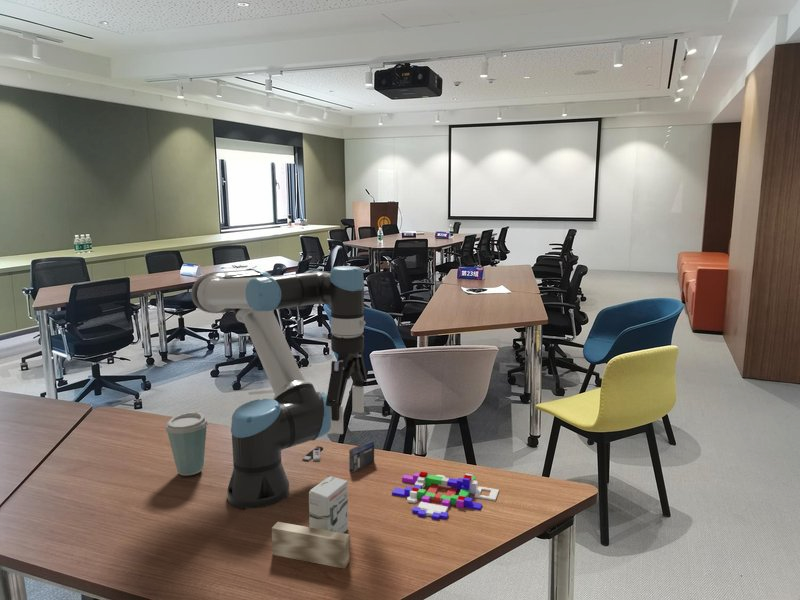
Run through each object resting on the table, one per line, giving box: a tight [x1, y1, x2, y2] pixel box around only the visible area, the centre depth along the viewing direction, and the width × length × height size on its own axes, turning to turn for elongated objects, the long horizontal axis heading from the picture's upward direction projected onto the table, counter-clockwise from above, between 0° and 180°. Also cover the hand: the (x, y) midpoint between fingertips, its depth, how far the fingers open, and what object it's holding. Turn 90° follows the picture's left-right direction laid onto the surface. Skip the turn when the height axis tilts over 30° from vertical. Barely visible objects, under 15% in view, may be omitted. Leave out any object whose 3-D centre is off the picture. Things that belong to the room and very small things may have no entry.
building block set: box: [391, 471, 500, 521], centre depth 141 cm, size 25×20×4 cm
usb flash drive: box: [301, 445, 324, 462], centre depth 164 cm, size 9×5×1 cm, turn 159°
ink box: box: [308, 476, 349, 533], centre depth 123 cm, size 9×5×12 cm, turn 154°
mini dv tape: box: [348, 440, 375, 473], centre depth 157 cm, size 8×2×6 cm, turn 139°
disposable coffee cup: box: [165, 411, 208, 476], centre depth 153 cm, size 11×11×15 cm
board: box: [271, 521, 350, 569], centre depth 116 cm, size 16×2×6 cm, turn 74°
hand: (348, 422), depth 134 cm, fingers open, 13 cm apart
